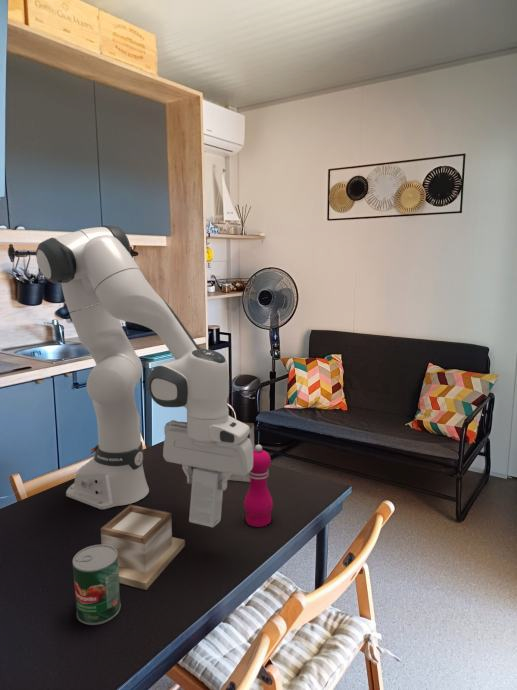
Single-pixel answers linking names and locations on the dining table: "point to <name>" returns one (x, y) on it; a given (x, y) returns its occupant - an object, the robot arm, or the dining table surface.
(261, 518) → the pepper mill
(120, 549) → the display stand
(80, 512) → the dining table surface
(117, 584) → the canned tomato
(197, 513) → the skincare box
